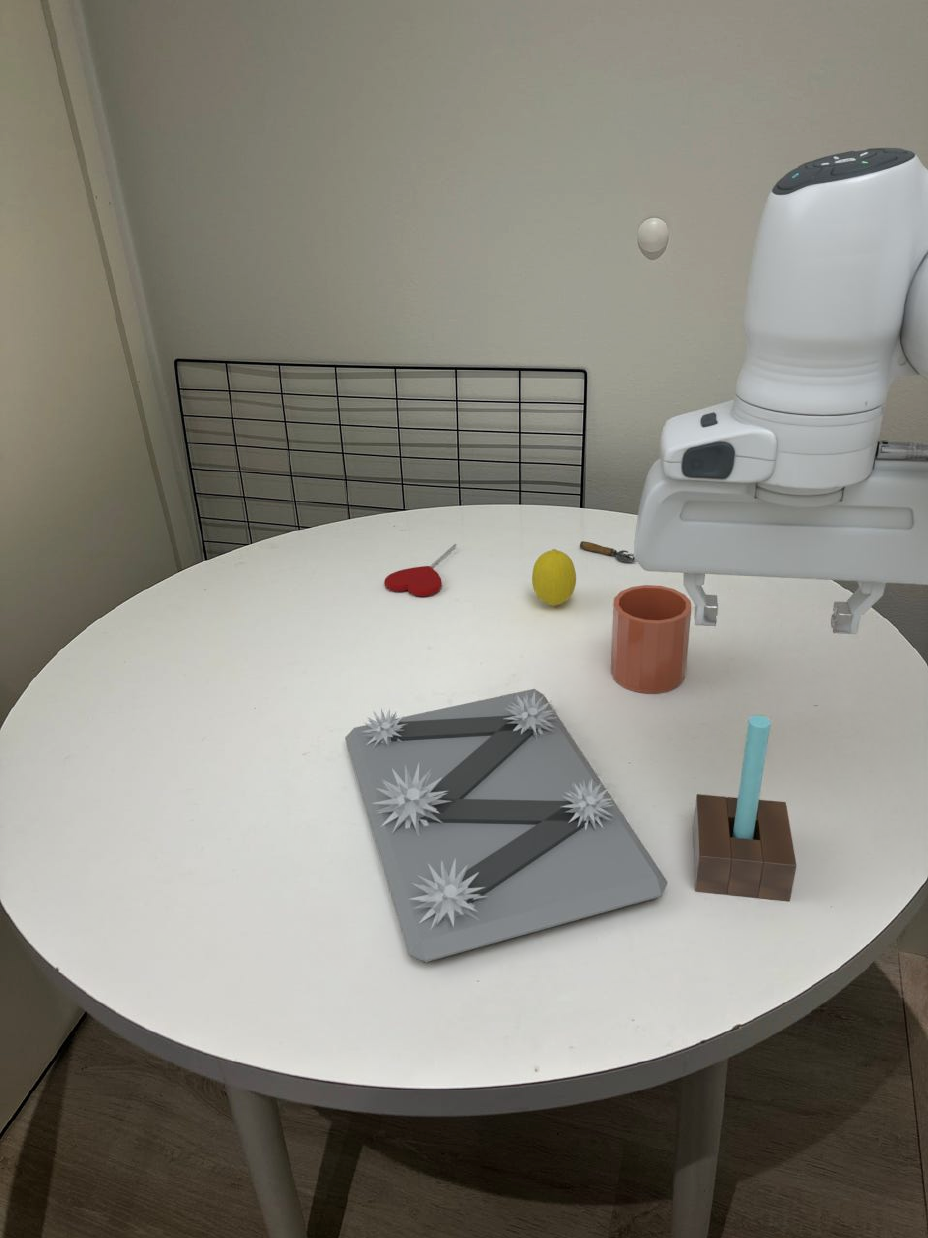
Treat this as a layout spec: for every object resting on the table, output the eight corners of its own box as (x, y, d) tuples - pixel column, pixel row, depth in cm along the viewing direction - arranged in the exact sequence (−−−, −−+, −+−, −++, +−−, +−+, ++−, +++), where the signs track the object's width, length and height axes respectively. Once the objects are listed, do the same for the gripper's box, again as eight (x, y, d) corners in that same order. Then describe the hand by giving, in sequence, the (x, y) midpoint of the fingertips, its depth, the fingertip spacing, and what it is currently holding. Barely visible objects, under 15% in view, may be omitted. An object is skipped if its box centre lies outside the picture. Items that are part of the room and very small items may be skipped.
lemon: (523, 605, 115) (522, 550, 111) (554, 591, 118) (554, 536, 114) (554, 621, 111) (554, 564, 107) (584, 605, 114) (586, 549, 110)
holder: (779, 836, 78) (785, 801, 76) (789, 901, 72) (796, 866, 70) (692, 828, 79) (696, 793, 77) (695, 891, 73) (699, 856, 71)
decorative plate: (672, 904, 72) (678, 839, 69) (413, 977, 67) (405, 912, 64) (540, 700, 97) (539, 644, 94) (345, 743, 92) (336, 686, 89)
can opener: (578, 549, 128) (578, 542, 128) (588, 543, 130) (588, 536, 129) (633, 566, 123) (633, 558, 122) (642, 560, 125) (642, 552, 124)
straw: (748, 857, 76) (769, 715, 69) (749, 871, 75) (771, 728, 67) (728, 855, 76) (748, 713, 69) (729, 869, 75) (749, 726, 68)
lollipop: (431, 543, 132) (378, 588, 121) (430, 537, 132) (377, 582, 120) (480, 552, 129) (431, 599, 117) (480, 546, 128) (430, 593, 117)
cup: (684, 655, 103) (690, 586, 99) (685, 696, 96) (692, 624, 92) (612, 650, 105) (615, 583, 100) (608, 691, 98) (611, 620, 93)
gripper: (965, 426, 58) (919, 612, 65) (641, 420, 61) (631, 596, 68) (995, 461, 52) (941, 659, 59) (639, 452, 56) (628, 640, 63)
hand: (773, 626), depth 64 cm, fingers open, 8 cm apart
